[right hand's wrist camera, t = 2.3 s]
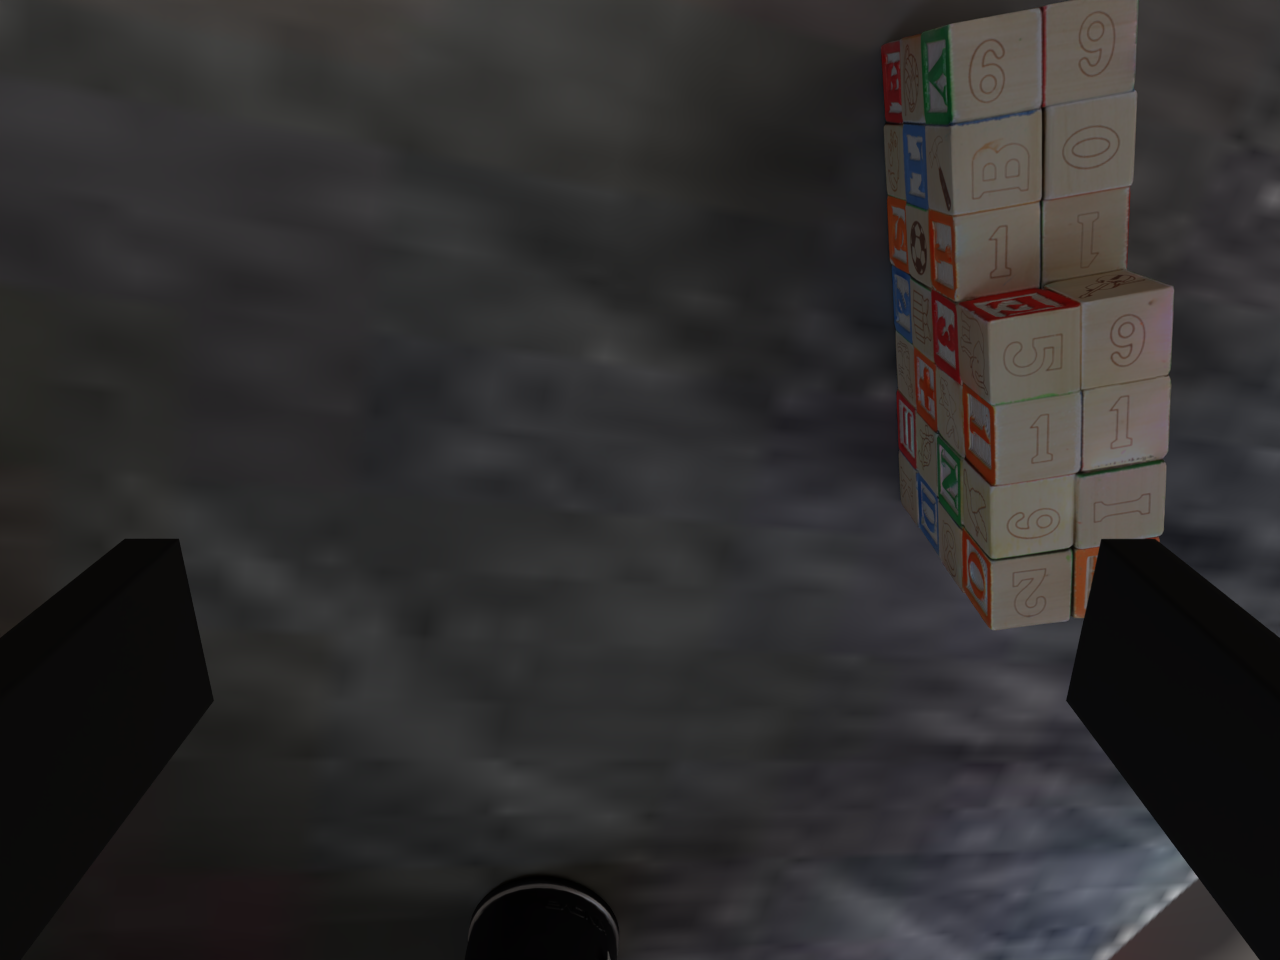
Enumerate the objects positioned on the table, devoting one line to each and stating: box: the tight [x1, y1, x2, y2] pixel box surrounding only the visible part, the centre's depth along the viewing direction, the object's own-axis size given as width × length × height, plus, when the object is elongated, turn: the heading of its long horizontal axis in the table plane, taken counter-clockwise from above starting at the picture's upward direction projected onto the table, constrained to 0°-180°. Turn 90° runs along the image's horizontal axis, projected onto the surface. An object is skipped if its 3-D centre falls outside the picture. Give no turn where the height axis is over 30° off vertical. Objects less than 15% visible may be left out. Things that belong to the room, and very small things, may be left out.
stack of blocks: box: [881, 0, 1174, 630], centre depth 35 cm, size 21×6×12 cm, turn 9°
